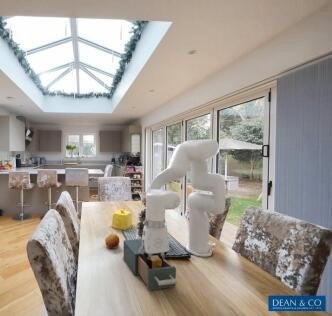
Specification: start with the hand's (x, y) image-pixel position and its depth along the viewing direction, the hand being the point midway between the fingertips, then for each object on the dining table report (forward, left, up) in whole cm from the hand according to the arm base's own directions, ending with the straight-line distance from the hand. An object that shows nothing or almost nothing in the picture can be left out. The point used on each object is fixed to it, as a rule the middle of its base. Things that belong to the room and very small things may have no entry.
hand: (154, 266), depth 84 cm
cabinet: (0, -12, -6) cm, 13 cm away
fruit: (+8, -33, -6) cm, 35 cm away
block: (0, 0, 0) cm, 0 cm away
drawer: (0, +2, -5) cm, 5 cm away
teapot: (-8, -63, -6) cm, 64 cm away
